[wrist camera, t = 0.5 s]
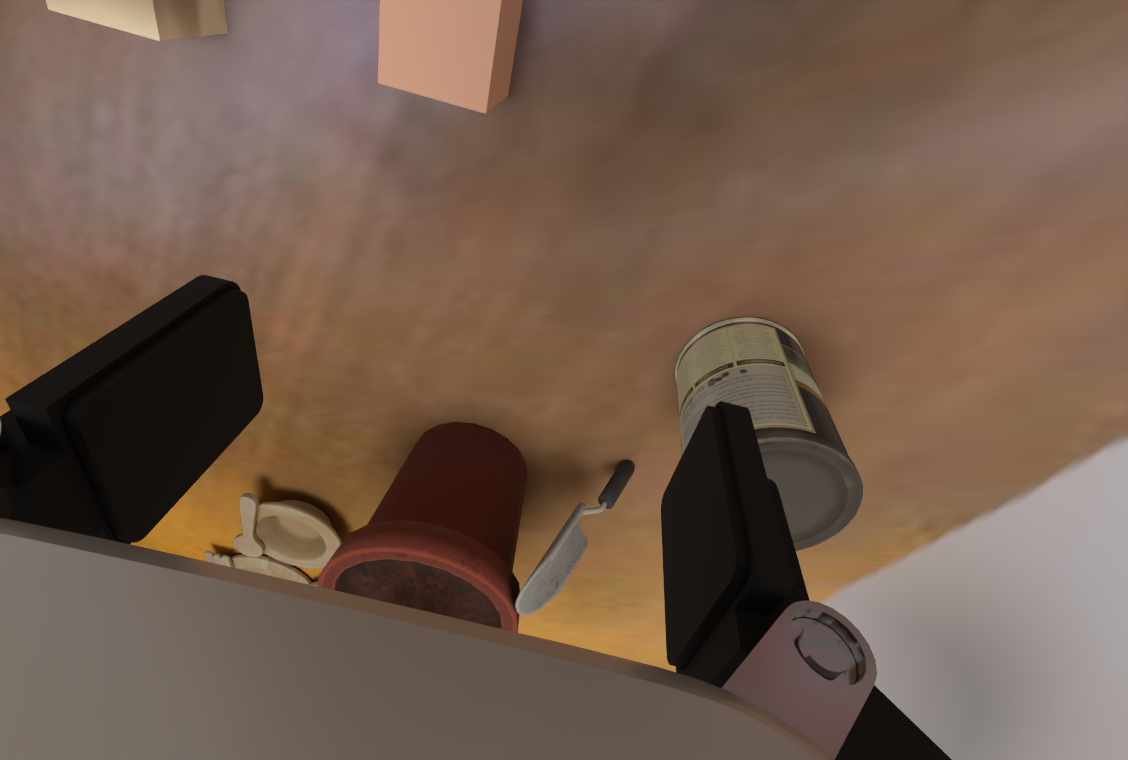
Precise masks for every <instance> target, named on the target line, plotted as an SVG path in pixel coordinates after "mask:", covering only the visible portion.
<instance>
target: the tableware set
mask: <svg viewBox="0 0 1128 760" xmlns="http://www.w3.org/2000/svg"><path fill="white" fill-rule="evenodd" d="M239 503H240V512H241V520H240V523H241V528H242V531H243V533H242V534H239V535H238V536H236V538H235V539H234V541H233V543H234V546H235V548H236V549H237V550H238V551H239V552H241V553H242V554H240V555H235V556H232V557H229V556H227V555H223V556H221V555H220V554H218V553H216V554H214V553H213V552H210V551H206V552H205V555H206V558H207V560H208V562H211V563H215V564H220V565H224V566H229V567H233V568H238V569H242V570H247V571H251V572H255V573H260V574H264V575H269V576H273V577H277V578H282V579H286V580H291V581H295V582H299V583H304V584H308V585H313V586H317V587H318V581H316V582H312V581H311V580H310V579H309V578H308V577H307V576H306V575H305V574H303V573H302V572H301V571H299V570H298V569H296V568H294V567H292V566H291V565H294V566H299V567H305V568H322V567H325V566H326V564H327V563H328V562H329V560H330V559H331V557H332V556H333V554H334V553H335V551H336V550H337V548H338V547H339V546H340V545H341V543H342V542H341V539H340V537H339V536H338V534H337V532H336V531H335V530H334V529H333V528H332V525H331V522H330V520H329V518H328V517H327V516H326V515H325V514H324V513H323V512H322V511H321V510H320V509H318V508H317V507H315V506H313V505H311V504H309V503H306V502H303V501H298V500H284V501H281V502H262V503H259V501H258V498H257V497H256V496H255V495H253V494H250V493H244V494H243V495H242V496H241V497H240V499H239ZM263 553H265V554H266V555H268V556H270V557H267V556H262V554H263ZM271 557H272V558H271ZM289 564H290V565H289Z"/></svg>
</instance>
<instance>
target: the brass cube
mask: <svg viewBox="0 0 1128 760" xmlns="http://www.w3.org/2000/svg"><path fill="white" fill-rule="evenodd" d="M46 3H47V6H48V10H52V11H55V12H59V13H62V14H66V15H70V16H73V17H77V18H80V19H84V20H87V21H91V22H94V23H98V24H101V25H105V26H108V27H112V28H115V29H119V30H122V31H126V32H129V33H133V34H136V35H140V36H143V37H147V38H150V39H154V40H157V41H167V40H176V39H185V38H193V37H202V36H211V35H220V34H228V31H227V22H226V14H225V6H224V0H46Z"/></svg>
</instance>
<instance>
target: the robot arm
mask: <svg viewBox="0 0 1128 760" xmlns="http://www.w3.org/2000/svg"><path fill="white" fill-rule="evenodd" d="M5 400H6V402H7V403H8V405H9V407H10V409H11V410H10V411H8V412H7V413H5V414H3V415H2V416H0V760H951V759H950V758H949V757H948V756H947V755H946V754H945V753H944V752H943V751H942V750H941V749H940V748H939V747H938V746H937V745H936V744H935V743H933V741H932V740H930V738H929V737H927V736H926V735H925V734H924V733H923V732H922V731H921V730H920V729H919V728H918V727H917V726H916V725H915V724H914V723H913V722H912V721H911V720H910V719H909V718H908V717H907V716H906V715H905V714H904V713H903V712H902V711H900V710H899V709H898V708H897V707H896V706H895V705H894V704H893V703H892V702H891V701H890V700H889V699H888V698H887V697H886V696H885V695H884V694H883V693H882V692H880V690H879V689H877V687H875V685H874V684H875V680H876V676H877V670H876V664H875V658H874V656H873V653H872V651H871V649H870V646H869V644H868V643H867V641H866V640H865V639H864V637H863V636H862V634H861V633H860V631H859V630H858V629H857V628H856V627H855V626H854V625H853V624H852V623H851V622H850V621H849V620H848V619H847V618H846V617H844V616H843V615H841V614H840V613H838V612H837V611H836V610H834V609H833V608H830V607H828V606H826V605H824V604H821V603H819V602H813V601H809V597H808V594H807V590H806V587H805V583H804V580H803V576H802V572H801V569H800V565H799V562H798V558H797V555H796V551H795V547H794V544H793V540H792V537H791V533H790V529H789V526H788V522H787V519H786V515H785V512H784V508H783V504H782V501H781V497H780V494H779V490H778V488H777V485H776V483H775V482H774V481H773V480H771V479H768V478H767V475H766V471H765V467H764V463H763V459H762V456H761V452H760V448H759V444H758V440H757V437H756V433H755V429H754V425H753V421H752V418H751V414H750V411H749V409H748V408H747V407H743V406H739V405H735V404H731V403H727V402H723V401H719V402H718V403H717V404H716V405H715V407H713V406H707V407H706V408H705V410H704V412H703V414H702V416H701V418H700V420H699V422H698V424H697V426H696V428H695V430H694V432H693V434H692V436H691V439H690V441H689V443H688V445H687V447H686V449H685V451H684V453H683V455H682V457H681V459H680V461H679V463H678V465H677V467H676V470H675V472H674V474H673V476H672V478H671V480H670V482H669V484H668V486H667V488H666V490H665V492H664V495H663V498H662V504H661V523H662V547H663V572H664V597H665V622H666V647H667V660H668V663H669V664H670V665H673V666H676V673H675V672H672V671H669V670H665V669H662V668H659V667H655V666H651V665H647V664H644V663H640V662H636V661H632V660H628V659H624V658H620V657H616V656H612V655H608V654H604V653H600V652H596V651H592V650H588V649H584V648H580V647H576V646H572V645H568V644H564V643H559V642H555V641H551V640H547V639H542V638H538V637H534V636H529V635H525V634H521V633H517V632H512V631H508V630H504V629H499V628H495V627H491V626H487V625H482V624H478V623H474V622H469V621H465V620H461V619H457V618H452V617H448V616H444V615H439V614H435V613H431V612H427V611H422V610H418V609H413V608H409V607H405V606H400V605H396V604H392V603H387V602H383V601H378V600H374V599H370V598H365V597H361V596H357V595H352V594H348V593H344V592H339V591H335V590H330V589H326V588H322V587H317V586H313V585H308V584H304V583H299V582H295V581H291V580H286V579H282V578H277V577H273V576H269V575H264V574H260V573H255V572H251V571H247V570H242V569H238V568H233V567H229V566H224V565H220V564H215V563H211V562H206V561H202V560H197V559H193V558H188V557H184V556H179V555H175V554H170V553H166V552H161V551H157V550H152V549H148V548H143V547H139V546H134V545H130V544H131V543H132V542H133V543H134V542H138V541H140V540H142V539H143V538H144V537H145V536H146V535H147V534H148V533H149V532H150V531H151V530H152V529H153V528H154V527H155V526H156V525H157V523H158V522H159V521H160V520H161V519H162V518H163V517H164V516H165V515H166V514H167V513H168V511H169V510H170V509H171V508H172V507H173V506H174V505H175V504H176V503H177V502H178V500H179V499H180V498H181V497H182V496H183V495H184V494H185V493H186V492H187V491H188V490H189V488H190V487H191V486H192V485H193V484H194V483H195V482H196V481H197V480H198V479H199V478H200V476H201V475H202V474H203V473H204V472H205V471H206V470H207V469H208V468H209V467H210V466H211V464H212V463H213V462H214V461H215V460H216V459H217V458H218V457H219V456H220V455H221V453H222V452H223V451H224V450H225V449H226V448H227V447H228V446H229V445H230V444H231V443H232V441H233V440H234V439H235V438H236V437H237V436H238V435H239V434H240V433H241V432H242V431H243V429H244V428H245V427H246V426H247V425H248V424H249V423H250V422H251V421H252V420H253V418H254V417H255V416H256V415H257V414H258V413H259V411H260V409H261V407H262V404H263V392H262V385H261V379H260V372H259V366H258V360H257V353H256V347H255V340H254V334H253V328H252V321H251V315H250V308H249V302H248V298H247V295H246V294H245V293H244V292H242V291H241V290H240V287H239V286H238V285H237V284H236V283H235V282H232V281H228V280H224V279H220V278H216V277H212V276H207V275H201V276H198V277H196V278H195V279H193V280H192V281H190V282H188V283H187V284H185V285H184V286H182V287H181V288H179V289H177V290H176V291H174V292H173V293H171V294H170V295H168V296H166V297H165V298H163V299H162V300H160V301H159V302H157V303H155V304H154V305H152V306H151V307H149V308H148V309H146V310H144V311H143V312H141V313H140V314H138V315H137V316H135V317H133V318H132V319H130V320H129V321H127V322H125V323H124V324H122V325H121V326H119V327H118V328H116V329H114V330H113V331H111V332H110V333H108V334H107V335H105V336H103V337H102V338H100V339H99V340H97V341H96V342H94V343H92V344H91V345H89V346H88V347H86V348H85V349H83V350H81V351H80V352H78V353H77V354H75V355H74V356H72V357H70V358H69V359H67V360H66V361H64V362H62V363H61V364H59V365H58V366H56V367H55V368H53V369H51V370H50V371H48V372H47V373H45V374H44V375H42V376H40V377H39V378H37V379H36V380H34V381H33V382H31V383H29V384H28V385H26V386H25V387H23V388H22V389H20V390H18V391H17V392H15V393H14V394H12V395H11V396H9V397H7V398H6V399H5Z"/></svg>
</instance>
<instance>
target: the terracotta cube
mask: <svg viewBox="0 0 1128 760" xmlns="http://www.w3.org/2000/svg"><path fill="white" fill-rule="evenodd" d="M522 4H523V0H380V19H379V62H378V83H380V84H383V85H387V86H390V87H394V88H397V89H401V90H404V91H408V92H411V93H415V94H418V95H422V96H425V97H429V98H432V99H436V100H439V101H443V102H446V103H450V104H453V105H457V106H460V107H464V108H467V109H471V110H474V111H478V112H481V113H485V114H486V113H488V112H489V111H490V110H491V109H493V108H494V107H495V106H496V105H498V104H499V103H500V102H502V101H503V100H504V99H505V98H507V97H508V93H509V87H510V80H511V74H512V68H513V61H514V55H515V48H516V42H517V36H518V29H519V23H520V16H521V10H522Z"/></svg>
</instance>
